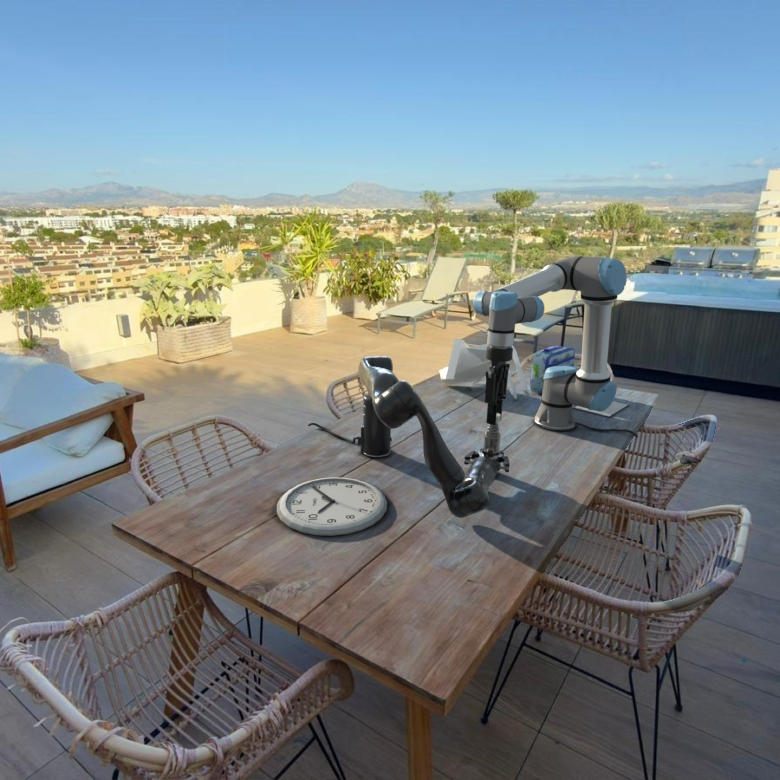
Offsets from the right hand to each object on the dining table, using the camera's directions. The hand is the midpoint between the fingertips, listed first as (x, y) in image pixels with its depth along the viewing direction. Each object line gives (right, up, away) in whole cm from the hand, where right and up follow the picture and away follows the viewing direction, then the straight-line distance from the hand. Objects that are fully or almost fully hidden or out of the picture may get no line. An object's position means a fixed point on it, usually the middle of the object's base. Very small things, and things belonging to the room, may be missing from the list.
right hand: (493, 421), depth 158 cm
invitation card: (+60, +2, +68) cm, 91 cm away
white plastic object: (+10, +8, +85) cm, 86 cm away
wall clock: (-47, -22, -16) cm, 54 cm away
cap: (0, +2, -1) cm, 2 cm away
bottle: (0, -16, +5) cm, 17 cm away
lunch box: (+44, +9, +89) cm, 100 cm away
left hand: (+1, -10, +6) cm, 11 cm away
